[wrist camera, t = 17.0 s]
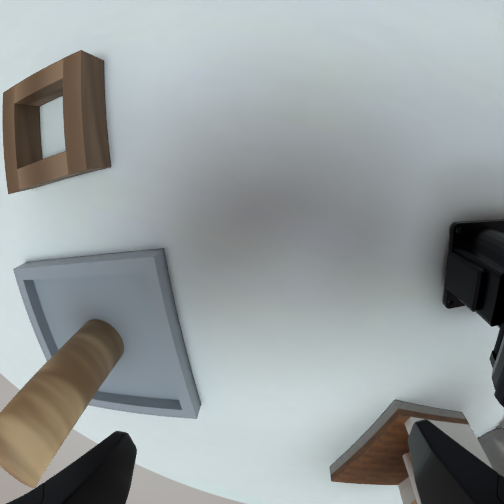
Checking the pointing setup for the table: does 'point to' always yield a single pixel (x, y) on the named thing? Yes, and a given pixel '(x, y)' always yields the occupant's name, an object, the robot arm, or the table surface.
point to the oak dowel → (56, 400)
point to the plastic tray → (117, 325)
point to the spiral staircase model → (399, 448)
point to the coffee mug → (494, 448)
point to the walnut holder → (75, 123)
